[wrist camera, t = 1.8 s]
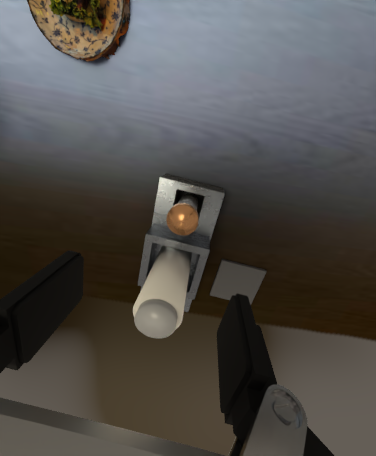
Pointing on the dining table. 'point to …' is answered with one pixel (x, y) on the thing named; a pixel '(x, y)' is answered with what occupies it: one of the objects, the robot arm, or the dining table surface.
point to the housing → (191, 243)
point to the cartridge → (163, 294)
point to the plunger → (184, 215)
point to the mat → (236, 280)
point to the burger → (82, 25)
